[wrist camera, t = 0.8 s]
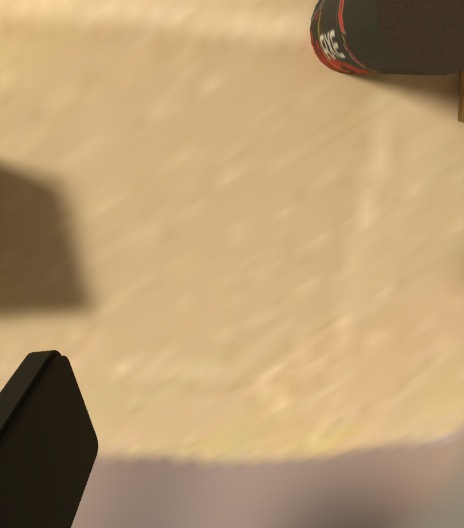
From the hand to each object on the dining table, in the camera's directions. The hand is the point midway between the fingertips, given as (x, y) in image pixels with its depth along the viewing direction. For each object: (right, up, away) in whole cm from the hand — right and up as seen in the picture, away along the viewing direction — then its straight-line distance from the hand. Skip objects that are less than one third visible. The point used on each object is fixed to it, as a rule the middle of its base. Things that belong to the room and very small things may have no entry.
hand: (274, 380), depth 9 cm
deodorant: (+7, +19, +20) cm, 29 cm away
